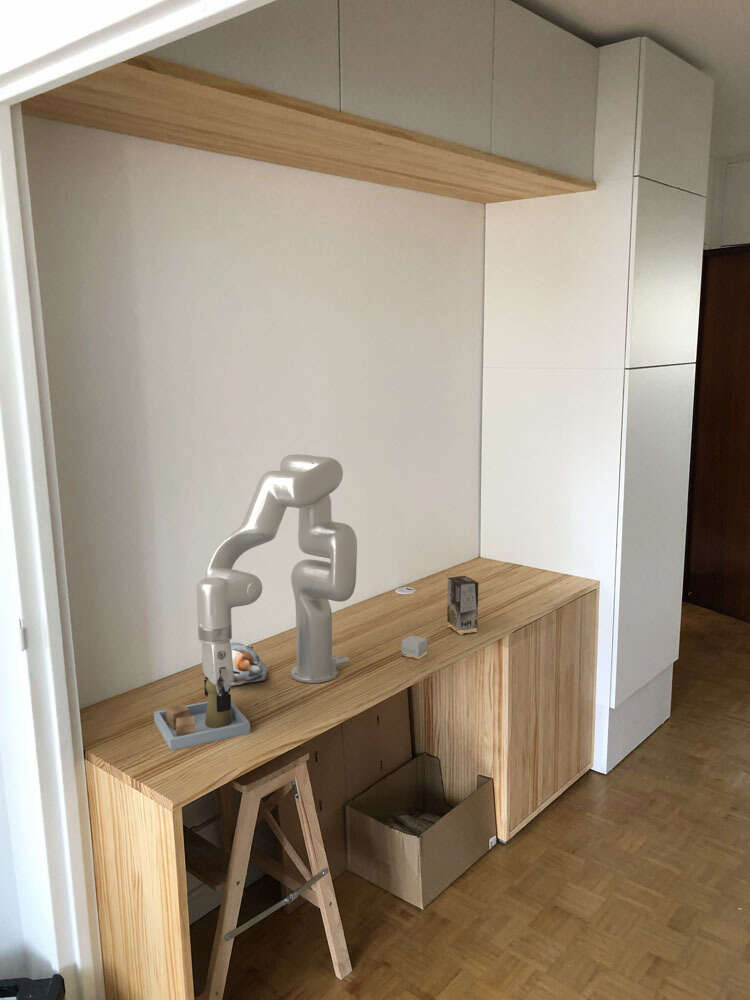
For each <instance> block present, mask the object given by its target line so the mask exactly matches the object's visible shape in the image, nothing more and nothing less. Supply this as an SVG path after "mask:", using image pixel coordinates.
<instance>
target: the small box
mask: <svg viewBox="0 0 750 1000" xmlns="http://www.w3.org/2000/svg"><path fill="white" fill-rule="evenodd" d="M428 639H429V638H425V637H420V636H416V635H410V636H407V637H405V638H403V639H402V640H401V654H402V653H403V654H407V655H412V656H415V657H419V656H421V655H422V654H424V653H425V652H426V651H429V650H428V647H429V645H428V644H429V640H428Z"/></svg>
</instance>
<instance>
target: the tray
mask: <svg viewBox="0 0 750 1000" xmlns="http://www.w3.org/2000/svg"><path fill="white" fill-rule="evenodd" d="M184 706H185V707H187V708H188V709H189V712H190V717H192V716H195V733H192V734H188V735H183V736H178V737H177V734H176V730H173V729H171V728H170V727H169V726H168V725H167V720H166V708H165V709H161V710H156V711H153V719H154V723H155V725H156V727H157V728H158V730H159V732H160V733H161V736H162V738H163V739H164V741H165V743H166V745H167V746H168V748H169V750H170V752H171V751H177V750H181V749H185V748H190V747H196V746H198V745H199V746H200V745H203V744H207V743H208V744H209V743H212V742H218V741H222V740H226V739H231V738H235V737H239V736H245V735H248V734H251V723H250V721H249V720H248V719H247V718H246V716H245V715H244V714H243V712H241V710H240V709H239V708H238V706H237V705H236V704H235V703H234V701H232V700H231V710H230V716H231V723H230V725H228V726H225V727H220V728H210V727H207V726H206V725H205V720H206V710H207V701H201V702H196V703H192V704H191V703H190V704H188V705H187V704H186V705H184Z"/></svg>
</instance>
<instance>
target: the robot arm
mask: <svg viewBox="0 0 750 1000" xmlns="http://www.w3.org/2000/svg"><path fill="white" fill-rule="evenodd" d="M343 475H344V471H343V467H342V464H341V462H339V461H338V460H337V459H335V458H333V457H328V456H319V455H317V456H316V455H310V454H308V455H307V454H288V455H287V456H284V457H283V458H282V459H281V462H280V464H279V470H270V471H266V472H265V473H264V474H262V476H261V477H260V478H259V480H258V483H257V485H256V488H255V491H254V493H253V495H252V497H251V498H252V499H251V500H250V503H249V505H248V509H247V511H246V513H245V516H244V518H243V522H242V523H241V525H240V526H239V527H238V528H237V529H236V530H234V531H233V532H231V533H230V534H229V535H228V536H227V537H226V538H225V539H224V540H223V541H222V542H221V543H220V544H219V545H218V546H217V548H215V551H214V552H213V554H212V556H211V559H210V561H209V564H208V566H207V569H206V572H205V574H204V578H203V579H201V580H199V582H198V583H197V584H196V608H197V609H196V610H197V631H198V632H197V633H198V634H197V635H198V642H200V643H201V664H202V671H203V679H204V680H203V683H204V684H203V685H204V695H205V697H208V692H207V690H206V686H205V685H206V681H207V680H208V679H209V680H210V682H211V683H212V684H214V685H216V689H217V693H218V695H216V703H217V712H223V711H228V710H231V701H232V695H231V694H232V691H231V690H232V689H231V687H230V682H231V683H232V682H233V681H234V672H233V660H232V651H231V644H230V643H231V641H230V640H232V638H233V629H232V627H233V625H232V609H233V608H235V607H237V608H238V607H244V606H248V605H251V604H253V603H255V602H257V600H258V599H259V598H260V597H261V595H262V592H263V584H262V581H261V579H260V578H259V577H258V576H256V575H255V574H253V573H251V572H247V571H245V572H244V571H242V570H238V569H233V566H234V565H235V563H236V562H237V560H238V559H239V558H240V557H241V556H242V555H243V554H244V553H246V552H247V551H249V550H251V549H253V548H255V547H258V546H261V545H264V544H267V543H270V542H272V541H273V540H274V539H275V538H276V537H277V533H278V532H279V529H280V526H281V522H282V521H283V517H284V515H285V512H286V510H287V508H295V509H298V529H297V530H298V533H297V534H298V535H297V536H298V538H297V539H298V547H299V549H300V551H301V552H302V553H304V554H306V555H309V556H315V557H319V558H324V559H330V562H329V561H325V560H324V561H323V560H318V559H303V560H300V561H298V562H297V563H296V564H295V565H294V567H293V569H292V571H291V575H290V580H291V581H290V582H291V587H292V591H293V595H294V596H293V597H294V601H295V603H294V604H295V630H296V631H295V632H296V634H295V635H296V643H295V644H296V665H295V666H294V667H292V669H291V670H290V674H291V675H290V676H291V677H292V679H294V680H295V681H298V682H301V683H307V684H308V683H309V684H319V683H320V682H321V683H325V681H326V682H329V681H332V680H333V679H335V678H337V677H338V674H339V668H338V667H339V666H341V665H348V664H349V663H350V658H349V656H343V657H341V655H335V656H333V613H332V607H331V604H330V601H332V602H338V603H339V602H341V603H342V602H346V601H348V600H349V599H350V598H351V597H352V596H353V595H354V591H355V588H356V582H357V561H358V559H357V558H358V538H357V535H356V532H355V530H354V528H353V527H352V526H350V525H349V524H347V523H345V522H338V521H337V522H336V521H333V518H332V499H331V493H333V492H335V491H336V490H337V489H338V488H339V486H340V484H341V482H342V480H343ZM218 680H222V681H220V682H218ZM220 685H223V687H222V688H221V690H220Z"/></svg>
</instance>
